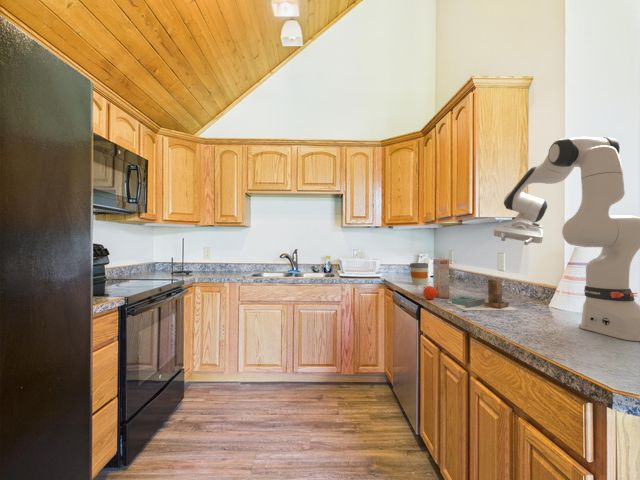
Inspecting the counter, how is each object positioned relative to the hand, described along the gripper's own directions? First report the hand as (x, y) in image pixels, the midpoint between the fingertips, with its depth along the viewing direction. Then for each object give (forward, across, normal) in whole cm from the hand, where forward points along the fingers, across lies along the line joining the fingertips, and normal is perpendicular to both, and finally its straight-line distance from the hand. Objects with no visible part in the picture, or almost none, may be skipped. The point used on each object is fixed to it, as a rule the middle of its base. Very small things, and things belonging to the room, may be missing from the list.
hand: (514, 241), depth 149 cm
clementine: (+23, -31, +30) cm, 49 cm away
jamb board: (+26, -6, +22) cm, 35 cm away
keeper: (+24, 0, +21) cm, 32 cm away
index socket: (+27, -13, +23) cm, 38 cm away
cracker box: (+10, -30, +37) cm, 49 cm away
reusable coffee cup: (-23, -58, +62) cm, 88 cm away
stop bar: (+24, 0, +21) cm, 32 cm away
